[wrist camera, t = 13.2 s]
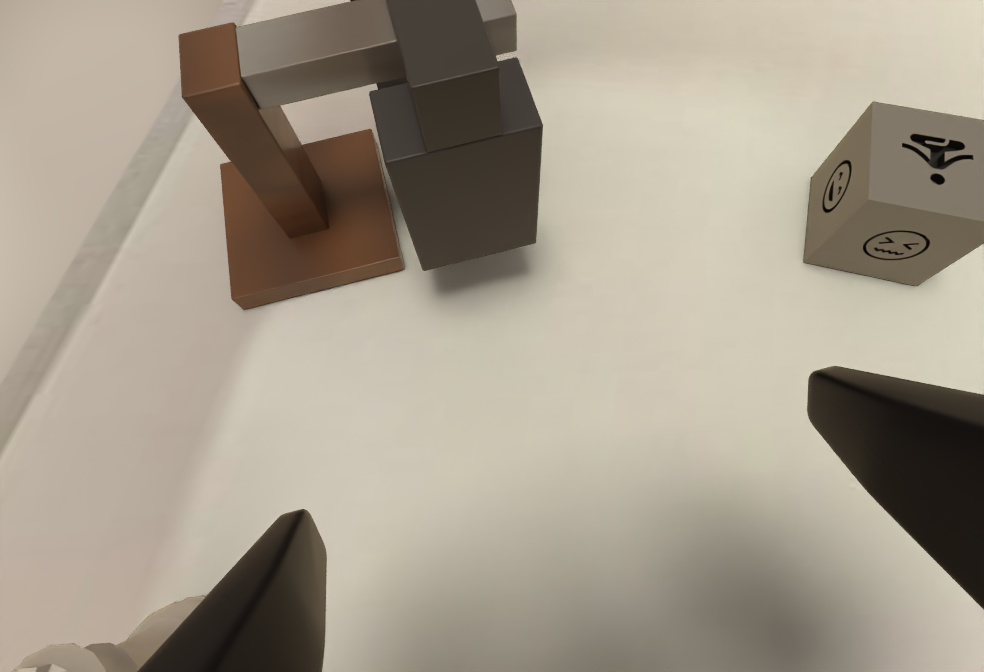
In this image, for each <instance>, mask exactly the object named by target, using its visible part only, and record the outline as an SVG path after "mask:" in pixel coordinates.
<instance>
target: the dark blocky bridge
mask: <svg viewBox="0 0 984 672" xmlns="http://www.w3.org/2000/svg"><path fill="white" fill-rule="evenodd" d="M350 1H355V0H350ZM386 2H387V6H388V10H389V14H390V18H391V21H392V25H393V29H394V33H395V36H396V40H397V44H398V48H399V52H400V55H401V59H402V63H403V67H404V71H405V74H406V76H405V77H401V78H396V79H392V80H388V81H384V82H379V83H376V84H377V87H378V90H374V91H371V92H370V93H369V96H370V100H371V105H372V109H373V114H374V118H375V122H376V127H377V131H378V136H379V140H380V144H381V149H382V153H383V158H384V162H385V165H386V168H387V171H388V174H389V177H390V179H391V182H392V185H393V188H394V191H395V193H396V196H397V199H398V202H399V205H400V207H401V210H402V213H403V216H404V219H405V222H406V224H407V227H408V230H409V233H410V236H411V238H412V241H413V244H414V247H415V250H416V253H417V255H418V258H419V261H420V264H421V267H422V269H423V271H427V270H431V269H434V268H438V267H442V266H446V265H450V264H454V263H458V262H462V261H466V260H470V259H474V258H478V257H482V256H486V255H490V254H494V253H498V252H502V251H506V250H510V249H514V248H518V247H522V246H526V245H530V244H534V243H536V234H537V217H538V200H539V183H540V166H541V148H542V131H543V124H542V122H541V119H540V116H539V114H538V111H537V108H536V106H535V103H534V100H533V98H532V95H531V92H530V90H529V87H528V84H527V82H526V79H525V76H524V74H523V71H522V68H521V66H520V63H519V60H518V58H511V59H507V60H503V61H498V62H497V59H496V56H495V53H494V50H493V48H492V45H491V42H490V39H489V36H488V33H487V31H486V28H485V25H484V22H483V19H482V16H481V14H480V11H479V8H478V5H477V2H476V0H386Z"/></svg>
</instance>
